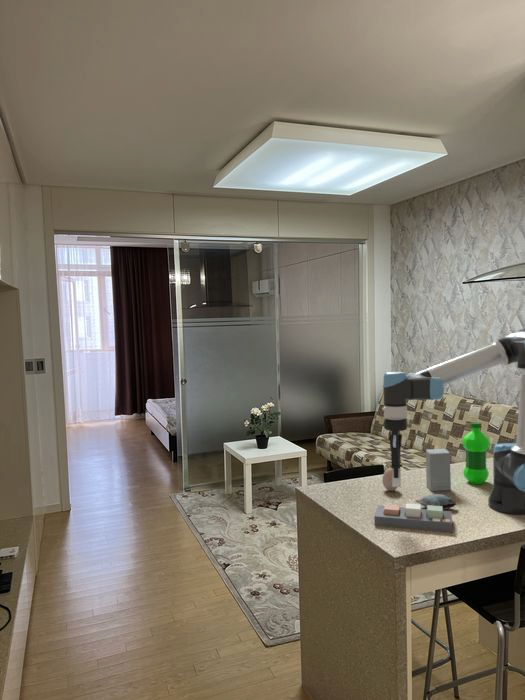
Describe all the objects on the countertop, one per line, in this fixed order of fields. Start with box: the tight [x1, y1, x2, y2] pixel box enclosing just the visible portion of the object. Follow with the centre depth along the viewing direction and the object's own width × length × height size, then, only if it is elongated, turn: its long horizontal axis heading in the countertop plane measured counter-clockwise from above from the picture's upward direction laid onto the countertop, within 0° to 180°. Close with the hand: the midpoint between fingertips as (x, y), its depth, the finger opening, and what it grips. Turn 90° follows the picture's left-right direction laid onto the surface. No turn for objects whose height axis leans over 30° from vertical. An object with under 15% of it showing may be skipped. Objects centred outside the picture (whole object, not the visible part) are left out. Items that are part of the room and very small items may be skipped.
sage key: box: [426, 505, 444, 519], centre depth 177 cm, size 5×5×4 cm
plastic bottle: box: [462, 421, 490, 485], centre depth 220 cm, size 10×10×25 cm
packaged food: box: [415, 493, 457, 511], centre depth 192 cm, size 9×12×5 cm
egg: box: [381, 467, 399, 492], centre depth 212 cm, size 7×7×9 cm
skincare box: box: [425, 448, 452, 492], centre depth 213 cm, size 8×7×16 cm
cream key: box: [405, 502, 422, 517], centre depth 179 cm, size 5×5×4 cm
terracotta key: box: [384, 504, 401, 515], centre depth 181 cm, size 5×5×4 cm
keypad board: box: [373, 504, 453, 533], centre depth 179 cm, size 25×11×3 cm, turn 72°
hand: (396, 486), depth 180 cm, fingers closed
